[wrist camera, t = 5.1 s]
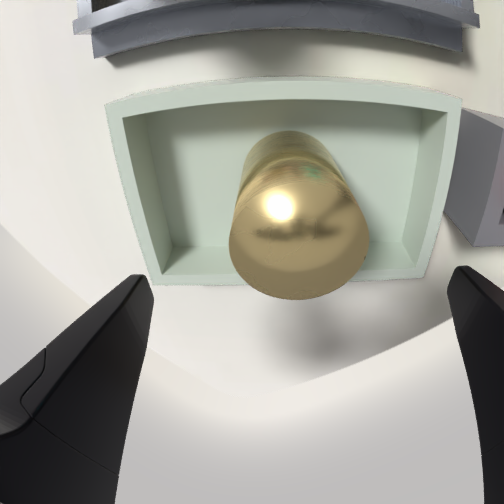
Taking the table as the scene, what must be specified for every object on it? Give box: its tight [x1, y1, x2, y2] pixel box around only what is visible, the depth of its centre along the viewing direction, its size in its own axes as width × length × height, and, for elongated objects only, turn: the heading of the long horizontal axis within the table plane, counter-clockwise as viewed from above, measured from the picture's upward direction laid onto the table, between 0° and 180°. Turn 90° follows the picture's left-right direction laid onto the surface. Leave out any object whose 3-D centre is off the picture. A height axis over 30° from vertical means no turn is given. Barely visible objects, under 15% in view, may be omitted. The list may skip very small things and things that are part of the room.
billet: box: [229, 130, 369, 300], centre depth 12 cm, size 4×4×6 cm
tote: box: [104, 76, 462, 285], centre depth 13 cm, size 14×9×3 cm, turn 94°
